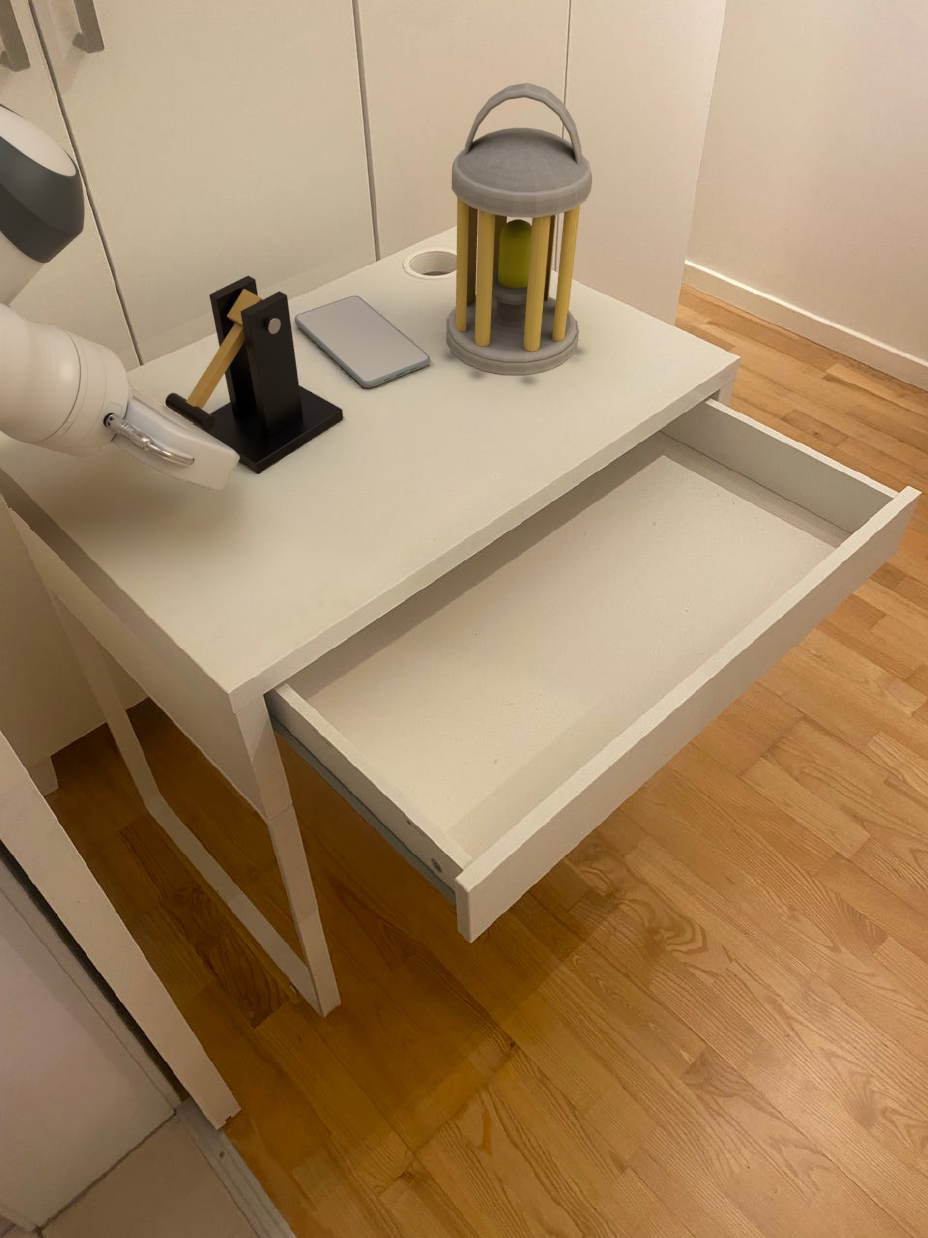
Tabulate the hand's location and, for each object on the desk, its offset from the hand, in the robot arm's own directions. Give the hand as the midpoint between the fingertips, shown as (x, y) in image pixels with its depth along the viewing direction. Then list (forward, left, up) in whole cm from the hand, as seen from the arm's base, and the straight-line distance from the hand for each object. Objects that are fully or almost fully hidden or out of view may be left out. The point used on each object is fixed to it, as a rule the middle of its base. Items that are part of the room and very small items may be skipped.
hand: (196, 439), depth 85 cm
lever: (+4, +3, +5) cm, 7 cm away
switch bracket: (+7, +5, -3) cm, 9 cm away
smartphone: (+18, +17, -3) cm, 25 cm away
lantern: (+34, +15, -3) cm, 37 cm away
